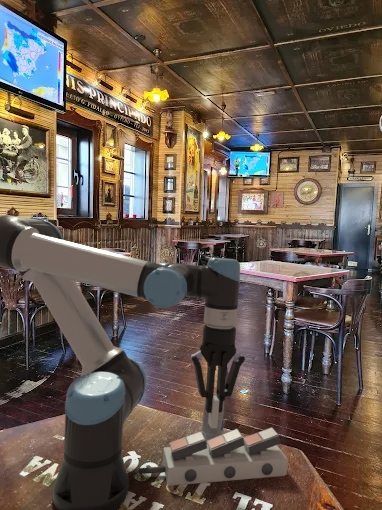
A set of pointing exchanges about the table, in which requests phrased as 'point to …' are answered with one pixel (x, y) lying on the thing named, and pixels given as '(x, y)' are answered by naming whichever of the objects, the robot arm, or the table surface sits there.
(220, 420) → the energy drink
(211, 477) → the power strip
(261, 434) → the rocker
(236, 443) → the rocker
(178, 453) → the rocker
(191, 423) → the table surface
